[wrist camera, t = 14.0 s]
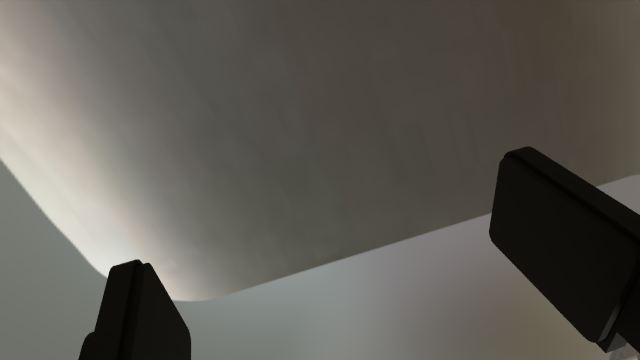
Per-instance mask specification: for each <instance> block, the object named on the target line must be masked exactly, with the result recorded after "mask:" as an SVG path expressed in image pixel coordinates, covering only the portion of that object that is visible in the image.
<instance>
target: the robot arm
mask: <svg viewBox="0 0 640 360" xmlns="http://www.w3.org/2000/svg"><path fill="white" fill-rule="evenodd" d="M489 234H490V238H491V240H492V242H493V243H494V244H495V246H496V247H498V249H499V250H500V251H502V253H503V254H504V255H505V256H506V257H507V258H508V259H509V260H510V261H511V262H512V263H513V264H514V265H515V266H516V267H517V268H518V269H519V270H520V271H521V272H522V273H523V274H524V275H525V276H526V277H527V279H529V281H530V282H531V283H532V284H533V285H534V286H535V287H536V288H537V289H538V290H539V291H540V292H541V293H542V294H543V295H544V296H545V297H546V298H547V299H548V300H549V301H550V302H551V303H552V304H553V305H554V306H555V308H556V309H557V310H558V311H559V312H560V313H561V314H562V315H563V316H564V317H565V318H566V319H567V320H568V321H569V322H570V323H571V324H572V325H573V326H574V327H575V328H576V329H577V330H578V331H579V332H580V333H581V334H582V335H583V336H584V337H585V338H586V339H587V340H589V341H591V342H594V343H596V344H597V345H598V346H599V347H600V348H601V349H602V350H603V351H604V352H605V353H608V352H610V351H613V350H615V349H618V348H621V347H623V346H625V345H626V343H627V342H628V343H629V344H630V345H631V346H632V347H633V348H634V349H635V350H636V354H637V359H638V360H640V215H639V214H637V213H636V212H634V211H632V210H631V209H629V208H628V207H626V206H624V205H623V204H621V203H620V202H618V201H616V200H615V199H613V198H612V197H610V196H608V195H607V194H605V193H604V192H602V191H600V190H599V189H597V188H596V187H594V186H593V185H591V184H590V183H588V182H586V181H585V180H583V179H582V178H580V177H578V176H577V175H575V174H574V173H572V172H571V171H569V170H567V169H566V168H564V167H563V166H561V165H559V164H558V163H556V162H555V161H553V160H551V159H550V158H548V157H547V156H545V155H544V154H542V153H540V152H539V151H537V150H536V149H534V148H532V147H523V148H520V149H516V150H513V151H509V152H507V153H506V154H505V155H504V158H503V159H502V160H501V161H500V164H499V171H498V177H497V183H496V190H495V196H494V203H493V209H492V216H491V222H490V229H489ZM78 360H191V338H190V333H189V330H188V328H187V326H186V324H185V322H184V321H183V319H182V317H181V316H180V314H179V312H178V310H177V308H176V307H175V305H174V303H173V302H172V300H171V298H170V296H169V295H168V293H167V291H166V289H165V288H164V286H163V284H162V283H161V281H160V279H159V277H158V276H157V274H156V272H155V271H154V269H153V267H152V266H151V264H150V263H145V264H143V263H142V262H141V261H140V260H133V261H130V262H126V263H123V264H119V265H116V266H113V267H112V268H111V269H110V271H109V275H108V279H107V283H106V287H105V291H104V295H103V299H102V303H101V307H100V311H99V315H98V319H97V323H96V326H95V331H94V332H92V333H89V334H88V335H87V337H86V338H85V340H84V342H83V345H82V348H81V352H80V356H79V359H78Z"/></svg>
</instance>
